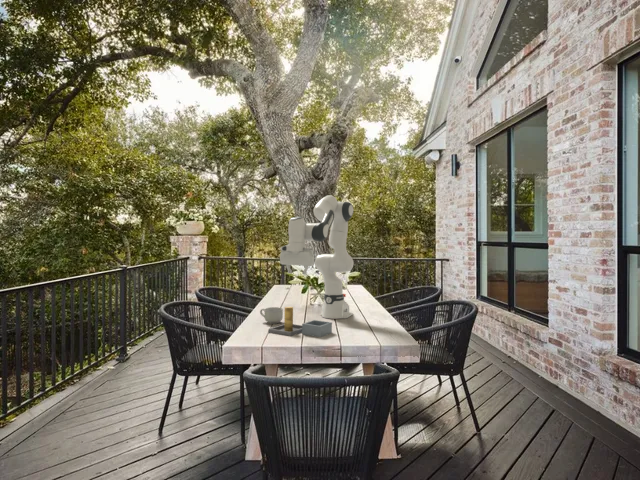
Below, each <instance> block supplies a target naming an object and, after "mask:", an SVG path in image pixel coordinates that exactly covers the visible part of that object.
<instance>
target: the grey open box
mask: <svg viewBox="0 0 640 480" xmlns="http://www.w3.org/2000/svg"><path fill="white" fill-rule="evenodd" d="M301 325H302V332H301V334H302V335H306V336H309V337H310V336H311V337H312V336H313V337H315V338H316V337H317V338H322V337H324V336H327V335H329V334H332V333H333V322H330V321H324V320H318V319H317V320H316V319H312V320H310V321H309V320H308V321H307V322H304V323H302V324H301Z"/></svg>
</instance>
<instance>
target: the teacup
mask: <svg viewBox="0 0 640 480" xmlns="http://www.w3.org/2000/svg"><path fill="white" fill-rule="evenodd" d="M283 310H284V308H282V307H279V306H277V307H276V306H273V307H272V306H271V307H266V308H261V309H260V310H259V313H260V315H261V316H262V317H263V318H264V321H265V322H267V323H268V324H270V325H271V324H272V325H273V324H279V323H280V322H281V321H283V318H284V315H283V314H284V313H283V312H284V311H283ZM263 311H264V313H263Z"/></svg>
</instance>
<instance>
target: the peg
mask: <svg viewBox="0 0 640 480" xmlns="http://www.w3.org/2000/svg"><path fill="white" fill-rule="evenodd" d="M283 324H284V331H288V332H290V331H293V324H294V307H293V306H285V307H284V322H283Z"/></svg>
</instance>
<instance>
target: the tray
mask: <svg viewBox="0 0 640 480" xmlns="http://www.w3.org/2000/svg"><path fill="white" fill-rule="evenodd" d="M300 333H301V334H302V324H294V323H293V331H290V332H288V331H284V323H283V324H280V325H278V326H273V327H270V328H268V334H277V335H283V336H288V337H292V336H294V335H295V336H296V335H298V334H300Z"/></svg>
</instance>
